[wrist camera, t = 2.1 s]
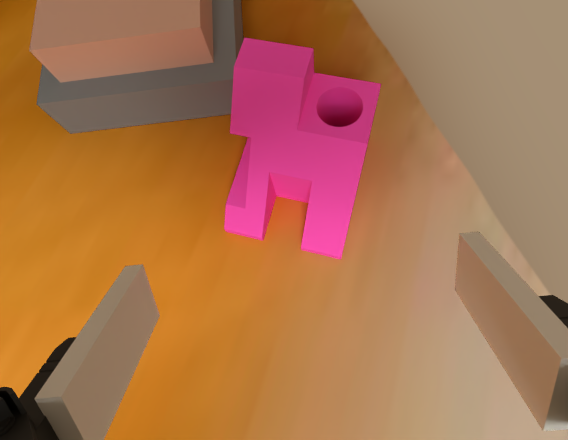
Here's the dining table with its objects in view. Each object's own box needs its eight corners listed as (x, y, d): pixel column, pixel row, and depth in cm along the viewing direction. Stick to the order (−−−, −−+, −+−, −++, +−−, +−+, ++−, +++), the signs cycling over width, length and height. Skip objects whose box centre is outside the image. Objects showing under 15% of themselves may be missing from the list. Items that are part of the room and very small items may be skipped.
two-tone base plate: (70, 133, 40) (1, 74, 31) (86, -17, 46) (33, -100, 37) (247, 112, 38) (226, 44, 30) (238, -39, 45) (219, -130, 36)
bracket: (264, 117, 38) (244, 37, 29) (369, 136, 37) (386, 59, 27) (226, 231, 35) (190, 186, 25) (340, 259, 33) (348, 222, 24)
